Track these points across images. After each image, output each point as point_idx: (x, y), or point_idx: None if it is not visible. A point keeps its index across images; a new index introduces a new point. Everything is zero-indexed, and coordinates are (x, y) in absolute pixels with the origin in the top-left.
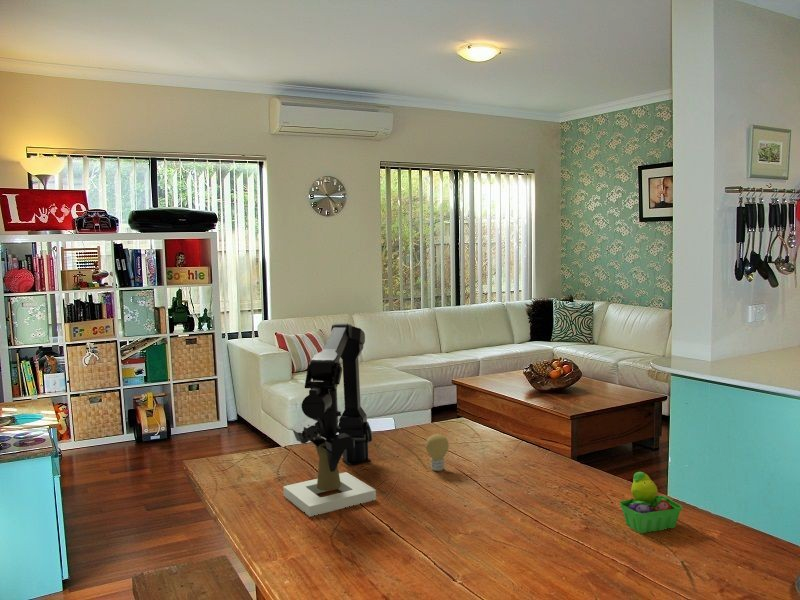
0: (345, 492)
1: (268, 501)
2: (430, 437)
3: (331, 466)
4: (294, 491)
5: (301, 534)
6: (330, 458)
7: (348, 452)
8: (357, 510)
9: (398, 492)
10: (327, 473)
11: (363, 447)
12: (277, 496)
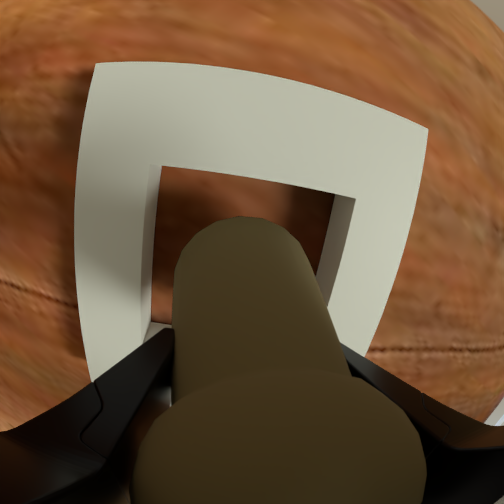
0: (128, 304)
1: (392, 57)
2: None
3: (137, 354)
4: (340, 114)
5: (37, 14)
6: (71, 401)
7: None
8: (52, 266)
9: None
10: (185, 298)
11: None
12: (412, 112)
